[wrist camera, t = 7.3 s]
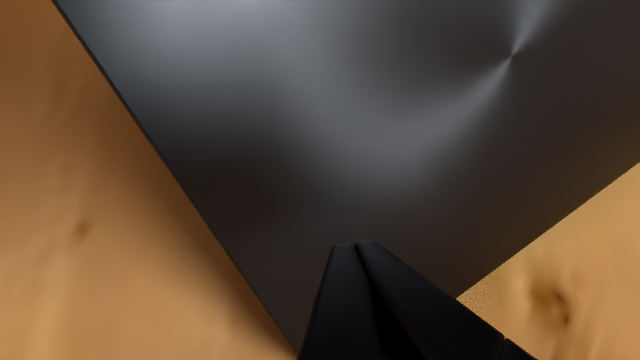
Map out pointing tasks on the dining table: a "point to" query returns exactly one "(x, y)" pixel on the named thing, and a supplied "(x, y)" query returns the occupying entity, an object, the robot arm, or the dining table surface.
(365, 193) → the laptop screen
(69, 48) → the dining table surface
